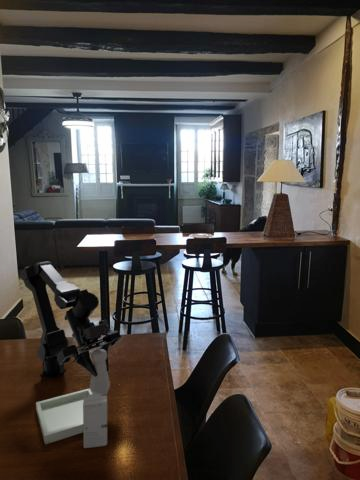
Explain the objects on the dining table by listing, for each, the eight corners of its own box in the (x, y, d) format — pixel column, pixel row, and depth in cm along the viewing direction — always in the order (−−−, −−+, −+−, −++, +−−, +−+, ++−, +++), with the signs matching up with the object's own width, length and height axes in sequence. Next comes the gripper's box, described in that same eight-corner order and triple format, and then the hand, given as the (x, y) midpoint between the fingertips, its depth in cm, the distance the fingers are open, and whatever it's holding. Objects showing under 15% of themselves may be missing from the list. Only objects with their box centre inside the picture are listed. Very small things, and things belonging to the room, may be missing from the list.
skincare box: (83, 449, 92) (81, 405, 90) (83, 437, 96) (82, 394, 94) (108, 445, 93) (107, 401, 91) (107, 433, 97) (106, 391, 95)
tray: (36, 410, 107) (35, 402, 107) (90, 395, 115) (90, 388, 114) (45, 444, 93) (44, 436, 93) (106, 424, 101) (105, 417, 100)
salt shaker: (101, 401, 102) (100, 358, 100) (85, 395, 105) (84, 353, 103) (114, 390, 107) (113, 349, 105) (99, 385, 110) (98, 344, 108)
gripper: (60, 321, 98) (82, 375, 93) (117, 305, 111) (140, 351, 106) (48, 339, 105) (68, 390, 99) (103, 321, 118) (124, 366, 112)
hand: (102, 373), depth 104 cm, fingers closed on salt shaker, 3 cm apart
